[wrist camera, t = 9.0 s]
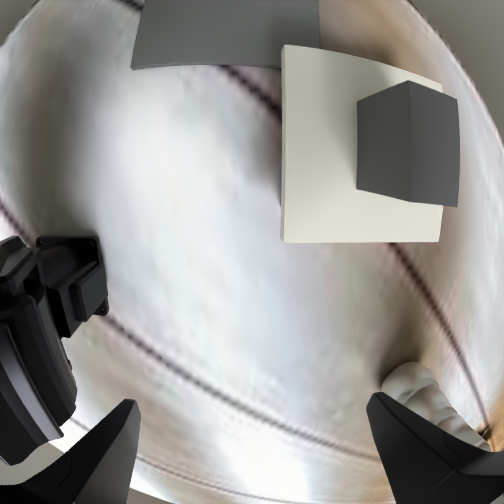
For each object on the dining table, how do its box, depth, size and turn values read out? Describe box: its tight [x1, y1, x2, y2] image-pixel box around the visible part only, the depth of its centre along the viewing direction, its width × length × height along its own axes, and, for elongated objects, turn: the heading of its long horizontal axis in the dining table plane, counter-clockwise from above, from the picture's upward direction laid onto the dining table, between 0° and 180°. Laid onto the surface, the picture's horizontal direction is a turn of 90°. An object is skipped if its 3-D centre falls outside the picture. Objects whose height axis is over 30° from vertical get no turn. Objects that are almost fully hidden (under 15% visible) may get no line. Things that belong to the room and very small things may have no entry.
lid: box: [280, 45, 460, 243], centre depth 11 cm, size 11×11×6 cm
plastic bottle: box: [381, 362, 491, 452], centre depth 16 cm, size 6×7×20 cm
